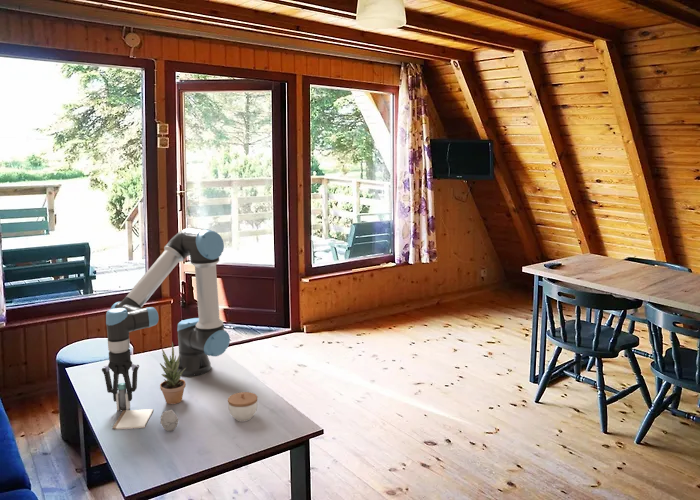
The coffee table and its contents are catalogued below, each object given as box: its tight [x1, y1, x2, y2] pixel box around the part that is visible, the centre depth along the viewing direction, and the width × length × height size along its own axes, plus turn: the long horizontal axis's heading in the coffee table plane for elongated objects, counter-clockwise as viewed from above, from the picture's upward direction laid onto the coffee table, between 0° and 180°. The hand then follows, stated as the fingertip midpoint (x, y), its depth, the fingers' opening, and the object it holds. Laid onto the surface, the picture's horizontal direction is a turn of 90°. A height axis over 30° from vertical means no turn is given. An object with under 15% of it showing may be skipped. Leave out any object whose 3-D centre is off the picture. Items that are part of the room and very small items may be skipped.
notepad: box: [111, 408, 154, 430], centre depth 216 cm, size 11×14×1 cm
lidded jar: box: [227, 391, 258, 422], centre depth 217 cm, size 11×11×9 cm
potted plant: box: [159, 341, 186, 405], centre depth 230 cm, size 10×10×25 cm
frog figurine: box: [160, 409, 179, 432], centre depth 208 cm, size 6×7×7 cm
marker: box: [117, 382, 127, 412], centre depth 224 cm, size 3×3×10 cm
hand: (123, 408), depth 225 cm, fingers closed on marker, 3 cm apart
